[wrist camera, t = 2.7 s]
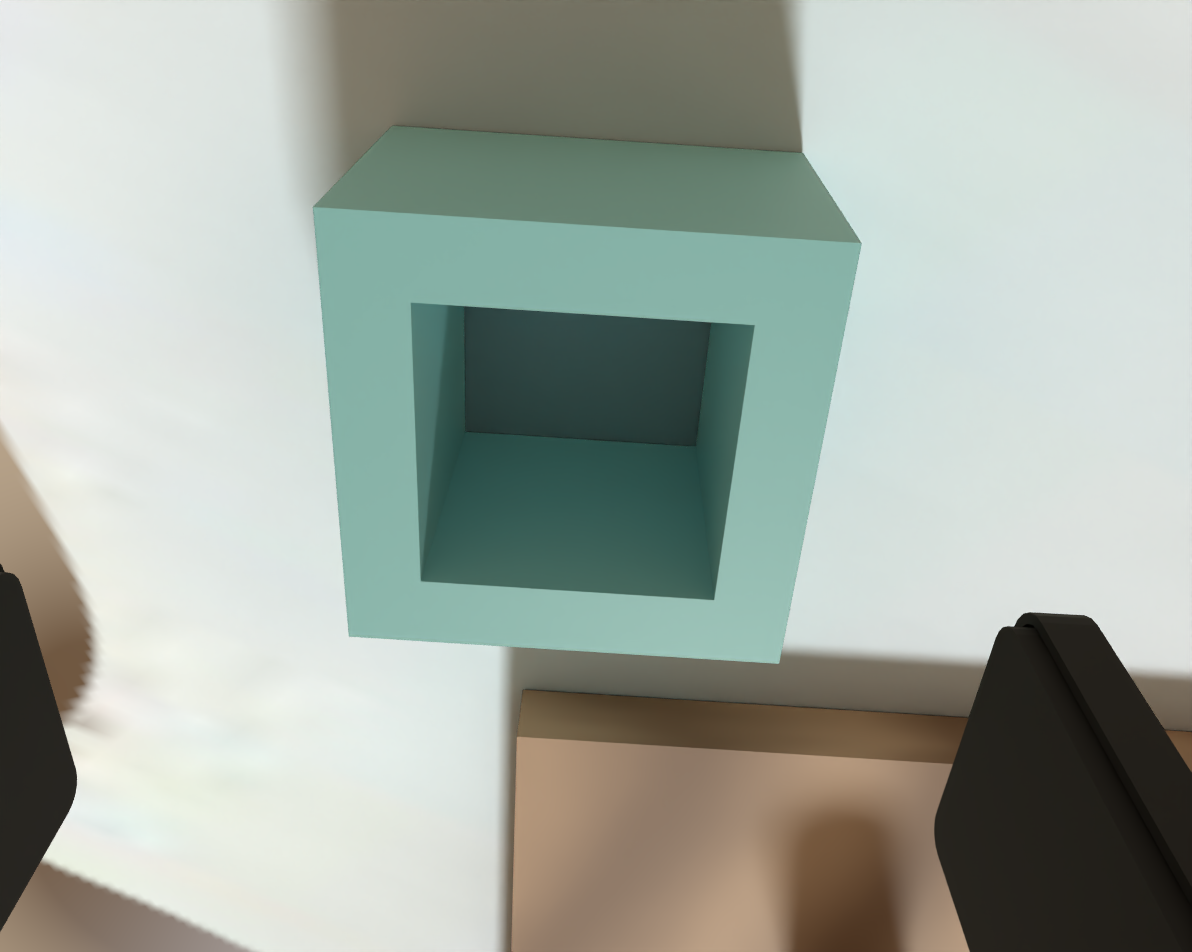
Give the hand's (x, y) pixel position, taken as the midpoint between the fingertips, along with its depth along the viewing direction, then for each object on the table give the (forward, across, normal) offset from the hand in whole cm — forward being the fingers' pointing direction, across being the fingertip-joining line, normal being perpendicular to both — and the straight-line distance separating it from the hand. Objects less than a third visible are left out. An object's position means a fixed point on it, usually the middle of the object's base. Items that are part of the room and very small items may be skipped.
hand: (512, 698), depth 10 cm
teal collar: (+10, -1, 0) cm, 10 cm away
